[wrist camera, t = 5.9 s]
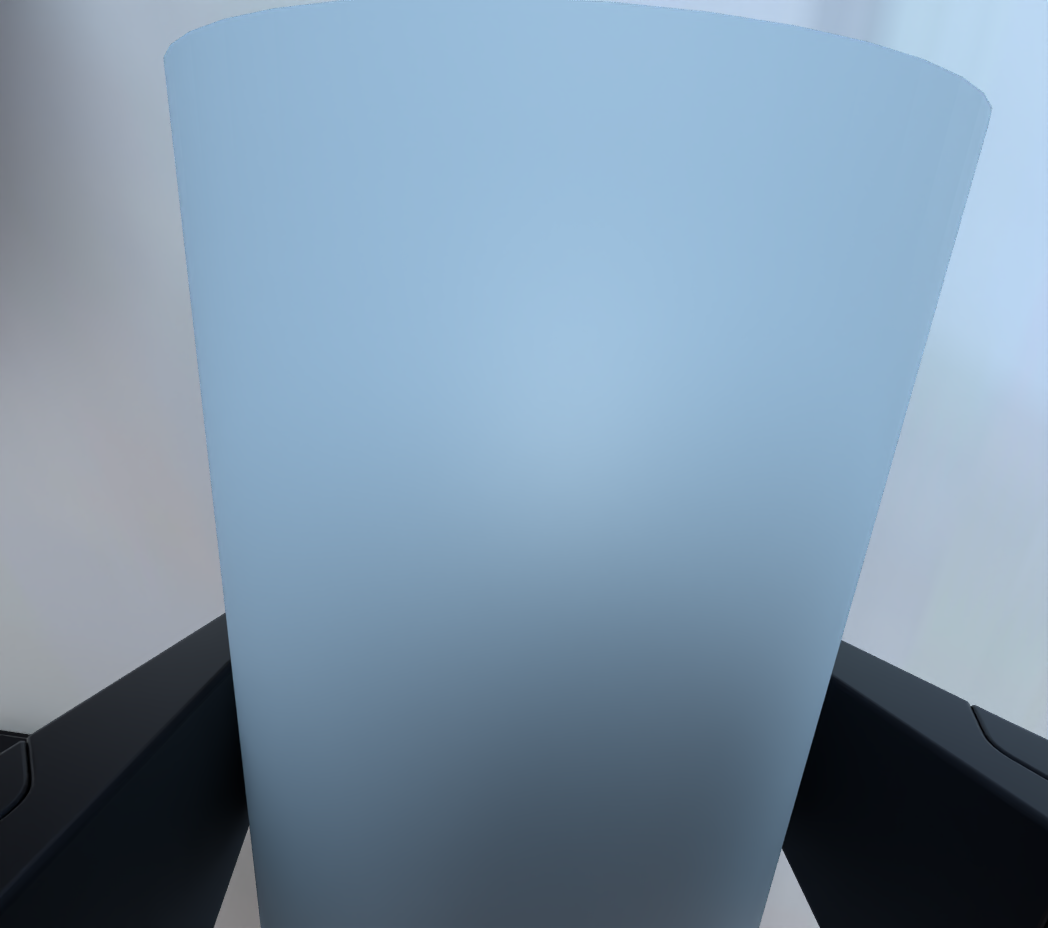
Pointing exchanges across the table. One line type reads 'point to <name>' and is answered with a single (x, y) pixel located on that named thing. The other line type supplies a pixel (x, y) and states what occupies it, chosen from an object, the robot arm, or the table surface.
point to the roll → (547, 433)
